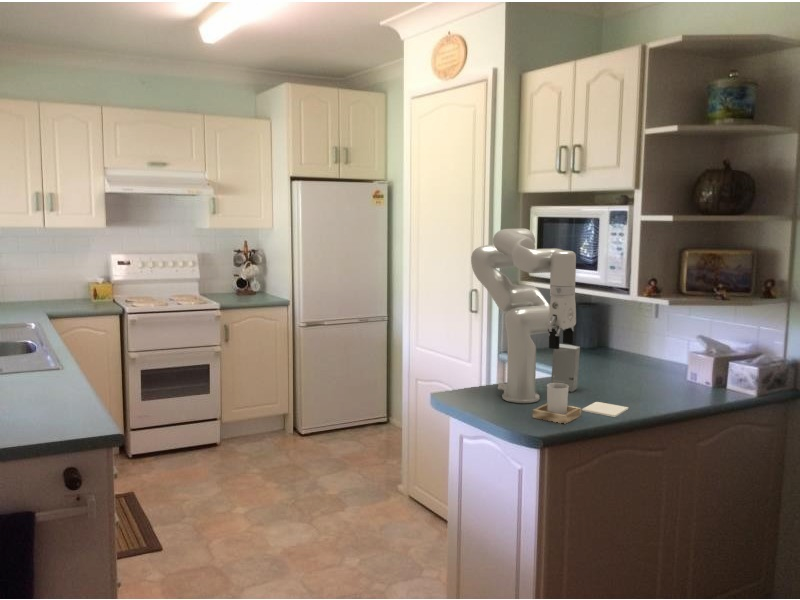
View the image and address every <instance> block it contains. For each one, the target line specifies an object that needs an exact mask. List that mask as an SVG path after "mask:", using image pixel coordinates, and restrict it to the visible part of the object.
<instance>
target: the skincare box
mask: <svg viewBox="0 0 800 600" xmlns="http://www.w3.org/2000/svg"><path fill="white" fill-rule="evenodd" d="M552 350H553V351H552V352H553V353H552V354H553V355H552V366H551V381H550V383H562V384H567V385H568V386H569V388H568V392H570V393H572V392H573V393H574V392H575V391H576V390H577V389H578V379H579V378H578V377H579V367H580V366H579V365H580V363H579V362H580V352H581V346H578V345H572V344H566V343H559V349H552Z"/></svg>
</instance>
